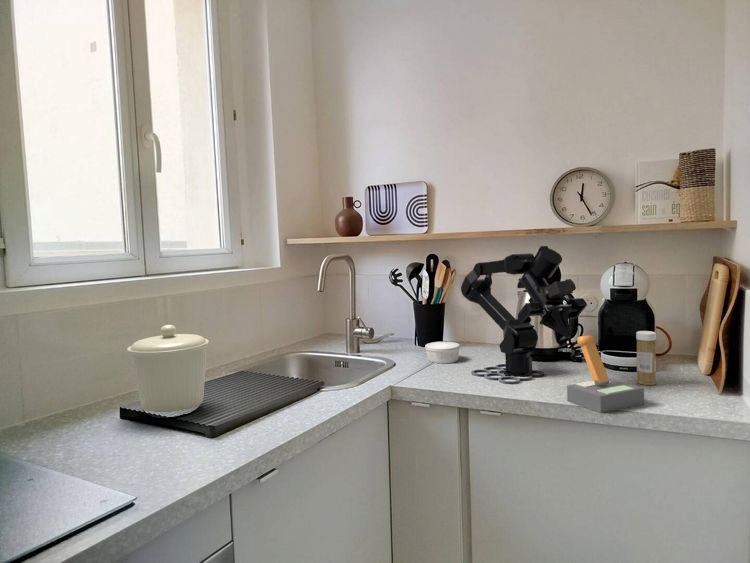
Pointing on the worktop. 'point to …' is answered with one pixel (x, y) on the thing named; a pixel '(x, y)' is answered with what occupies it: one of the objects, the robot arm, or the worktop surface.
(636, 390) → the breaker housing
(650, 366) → the sprinkles bottle
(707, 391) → the worktop surface
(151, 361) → the canister
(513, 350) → the robot arm
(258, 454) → the worktop surface
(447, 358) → the ramekin
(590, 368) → the lever
